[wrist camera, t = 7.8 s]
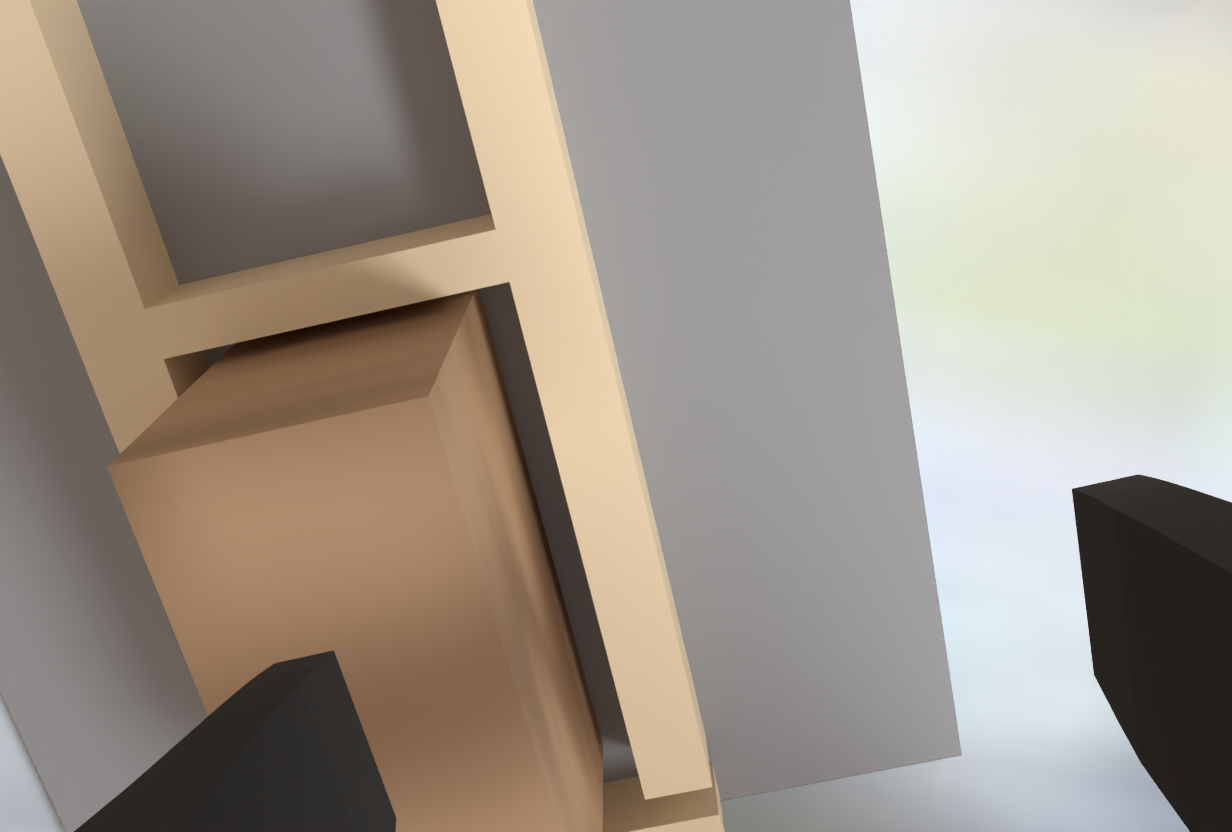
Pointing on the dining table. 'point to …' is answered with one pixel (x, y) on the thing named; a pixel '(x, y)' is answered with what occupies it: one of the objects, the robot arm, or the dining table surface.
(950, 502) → the dining table surface
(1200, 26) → the dining table surface
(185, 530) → the brown cardboard box
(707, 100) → the jig
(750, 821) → the dining table surface
